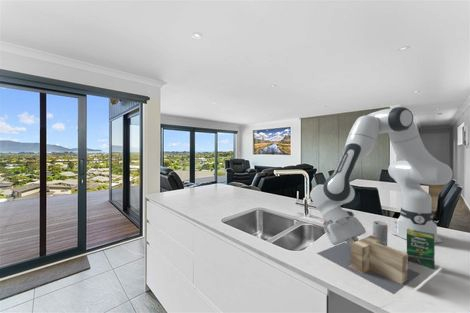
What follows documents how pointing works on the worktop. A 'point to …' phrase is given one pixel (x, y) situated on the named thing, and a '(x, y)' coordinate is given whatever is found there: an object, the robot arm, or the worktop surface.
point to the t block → (379, 259)
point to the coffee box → (421, 248)
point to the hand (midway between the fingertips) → (359, 249)
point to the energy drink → (380, 231)
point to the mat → (343, 258)
